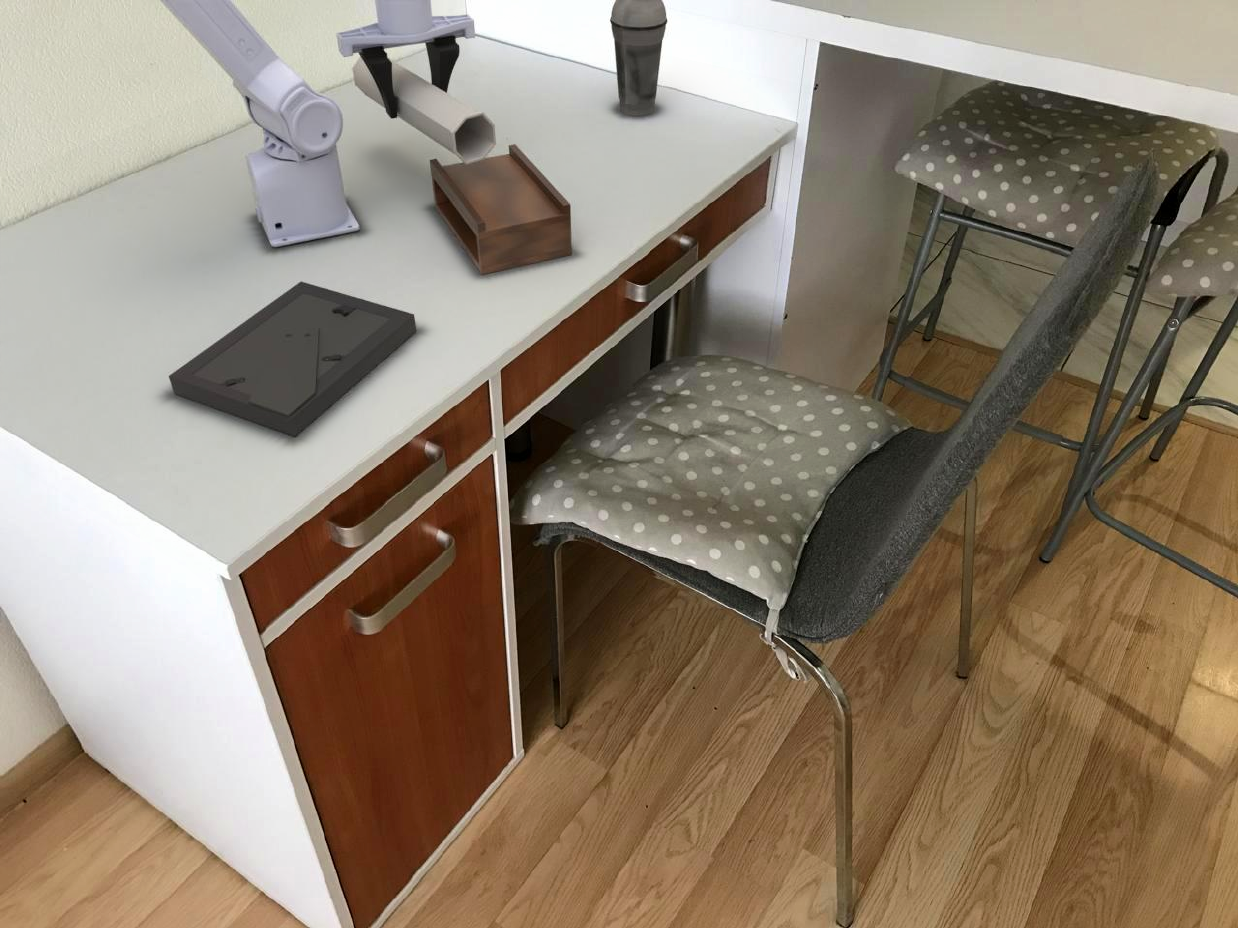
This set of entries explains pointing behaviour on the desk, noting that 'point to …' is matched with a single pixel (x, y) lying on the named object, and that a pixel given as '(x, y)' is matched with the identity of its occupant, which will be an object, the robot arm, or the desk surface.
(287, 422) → the picture frame
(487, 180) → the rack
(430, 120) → the tube
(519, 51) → the desk surface
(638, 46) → the beverage cup
